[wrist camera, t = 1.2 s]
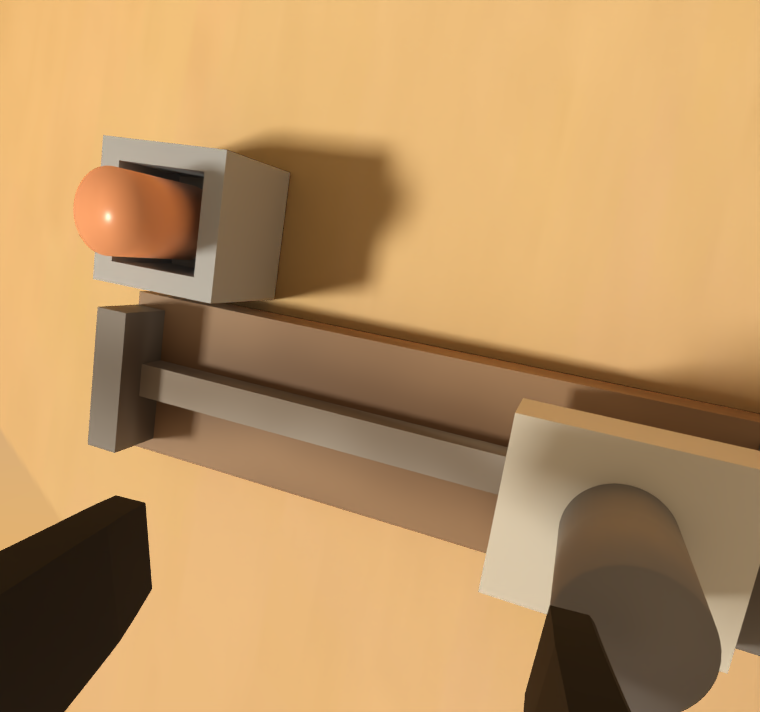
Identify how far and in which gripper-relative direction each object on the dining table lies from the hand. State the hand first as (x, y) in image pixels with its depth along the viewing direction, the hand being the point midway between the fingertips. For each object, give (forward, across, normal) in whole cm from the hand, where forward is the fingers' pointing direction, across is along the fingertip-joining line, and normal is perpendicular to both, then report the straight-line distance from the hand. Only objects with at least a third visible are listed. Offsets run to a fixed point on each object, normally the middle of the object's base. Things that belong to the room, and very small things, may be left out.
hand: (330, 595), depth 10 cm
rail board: (+11, 0, +3) cm, 11 cm away
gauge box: (+13, +9, -3) cm, 16 cm away
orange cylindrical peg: (+11, +9, -3) cm, 14 cm away
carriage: (+7, -6, +2) cm, 10 cm away
